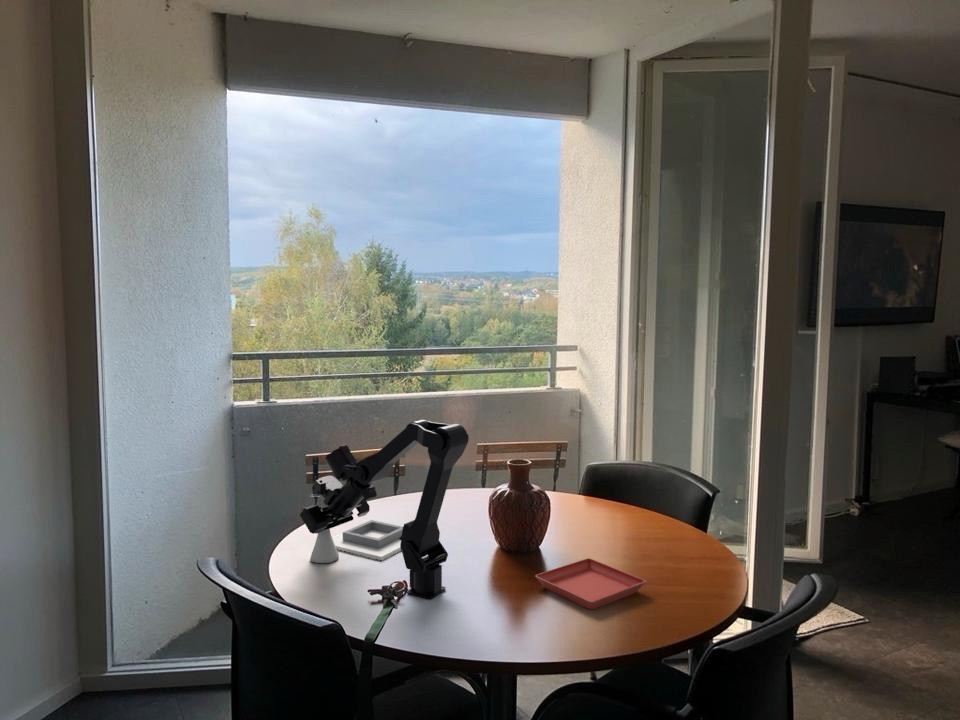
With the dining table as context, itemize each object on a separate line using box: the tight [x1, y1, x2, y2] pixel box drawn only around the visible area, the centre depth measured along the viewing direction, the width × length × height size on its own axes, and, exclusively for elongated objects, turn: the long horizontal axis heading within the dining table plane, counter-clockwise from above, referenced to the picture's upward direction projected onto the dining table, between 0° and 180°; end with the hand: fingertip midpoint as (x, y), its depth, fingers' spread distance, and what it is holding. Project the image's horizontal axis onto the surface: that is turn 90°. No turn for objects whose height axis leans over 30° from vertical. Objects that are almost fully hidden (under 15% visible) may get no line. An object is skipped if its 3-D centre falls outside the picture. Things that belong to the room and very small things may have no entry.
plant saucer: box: [534, 557, 647, 610], centre depth 163 cm, size 18×18×3 cm
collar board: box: [332, 519, 403, 561], centre depth 193 cm, size 20×20×3 cm
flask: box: [309, 528, 340, 564], centre depth 180 cm, size 7×7×10 cm
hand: (319, 530), depth 181 cm, fingers closed on flask, 3 cm apart
